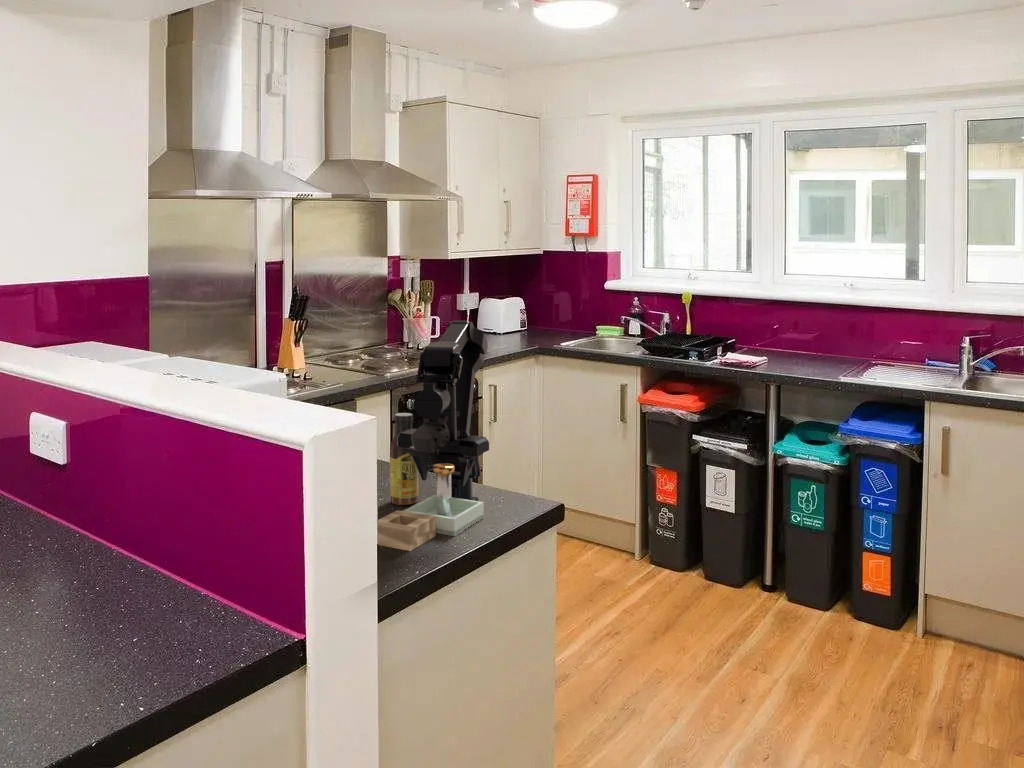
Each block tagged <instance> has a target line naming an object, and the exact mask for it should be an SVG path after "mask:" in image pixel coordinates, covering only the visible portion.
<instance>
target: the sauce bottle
mask: <svg viewBox="0 0 1024 768" xmlns="http://www.w3.org/2000/svg"><path fill="white" fill-rule="evenodd" d="M393 420H394V422H395V427H394V429H395V431H394V436H393V438H392V440H391V443H390V445H389V495H390V502H391V504H393V505H396V506H412V505H415V504H416V503H417V502H418V499H419V471H418V468H417V466H416V463H415V461H414V459H413V457H412V456H411V455H410V454H409V453H408V452H406V451H403V447H398V446H397V437H398V435H399V434H400V433H401V432H404V431H406V430H409V429H413V422H414V414H413V413H411V412H398V413H397V412H396V413H395V414H394V417H393Z"/></svg>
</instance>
